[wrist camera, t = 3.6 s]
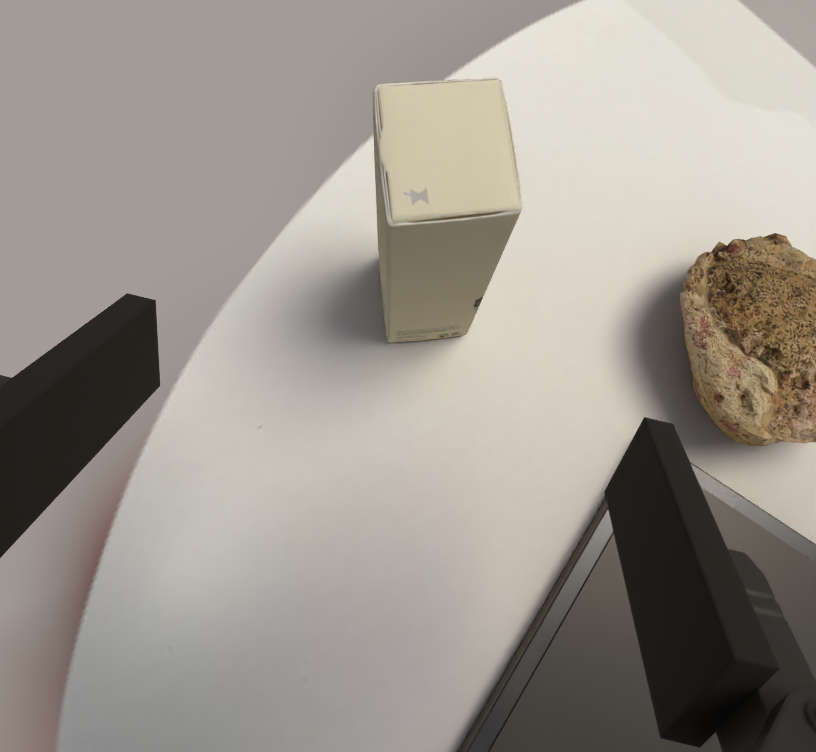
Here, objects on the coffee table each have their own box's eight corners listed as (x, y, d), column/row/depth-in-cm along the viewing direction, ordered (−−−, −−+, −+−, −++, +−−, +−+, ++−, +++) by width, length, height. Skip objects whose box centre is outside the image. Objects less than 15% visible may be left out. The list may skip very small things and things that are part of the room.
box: (468, 337, 30) (531, 221, 17) (384, 345, 29) (385, 233, 17) (456, 243, 31) (506, 69, 18) (375, 250, 30) (369, 78, 18)
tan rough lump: (750, 274, 34) (632, 240, 30) (886, 213, 28) (764, 158, 24) (795, 460, 31) (670, 452, 26) (961, 434, 25) (834, 418, 21)
